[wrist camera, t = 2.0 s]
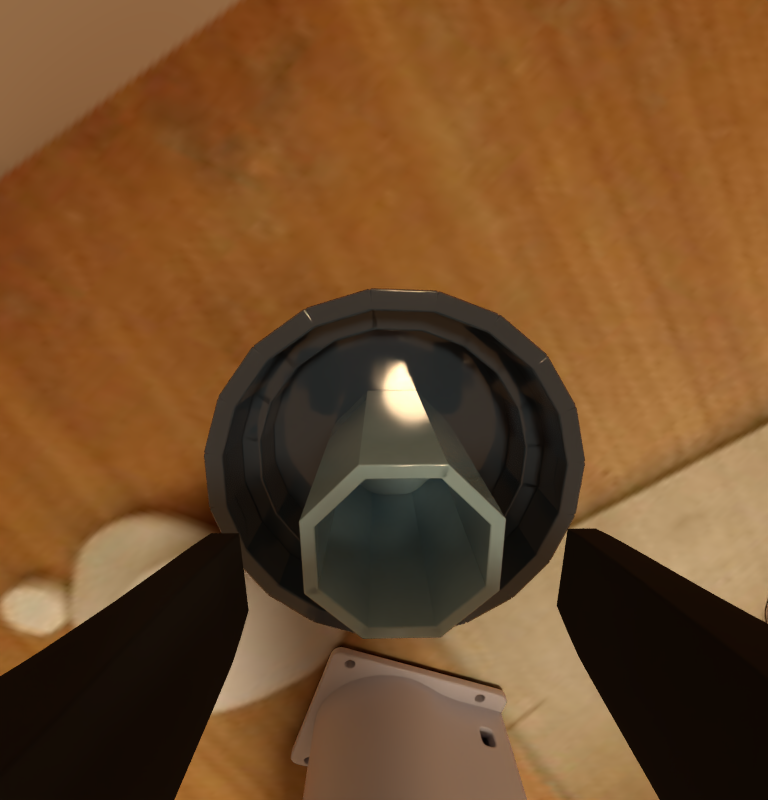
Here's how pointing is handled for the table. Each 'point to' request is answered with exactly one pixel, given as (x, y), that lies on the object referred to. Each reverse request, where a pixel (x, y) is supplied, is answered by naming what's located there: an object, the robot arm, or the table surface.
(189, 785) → the table surface
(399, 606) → the cup
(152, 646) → the robot arm
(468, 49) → the table surface
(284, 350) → the bowl
